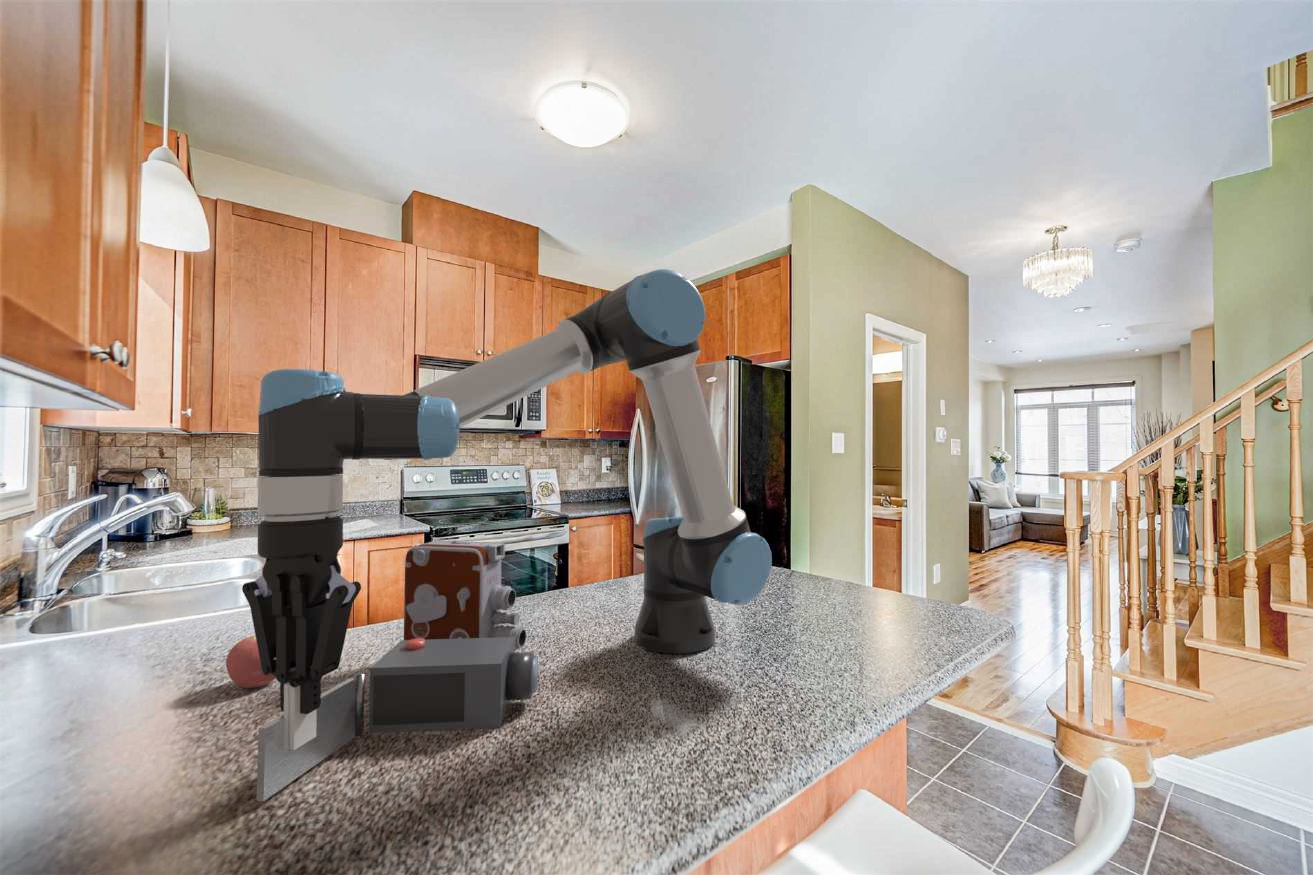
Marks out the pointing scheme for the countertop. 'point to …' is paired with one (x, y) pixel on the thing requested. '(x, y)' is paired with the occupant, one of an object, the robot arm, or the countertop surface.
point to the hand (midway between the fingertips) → (300, 742)
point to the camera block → (448, 684)
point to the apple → (247, 665)
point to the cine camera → (458, 593)
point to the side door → (333, 730)
